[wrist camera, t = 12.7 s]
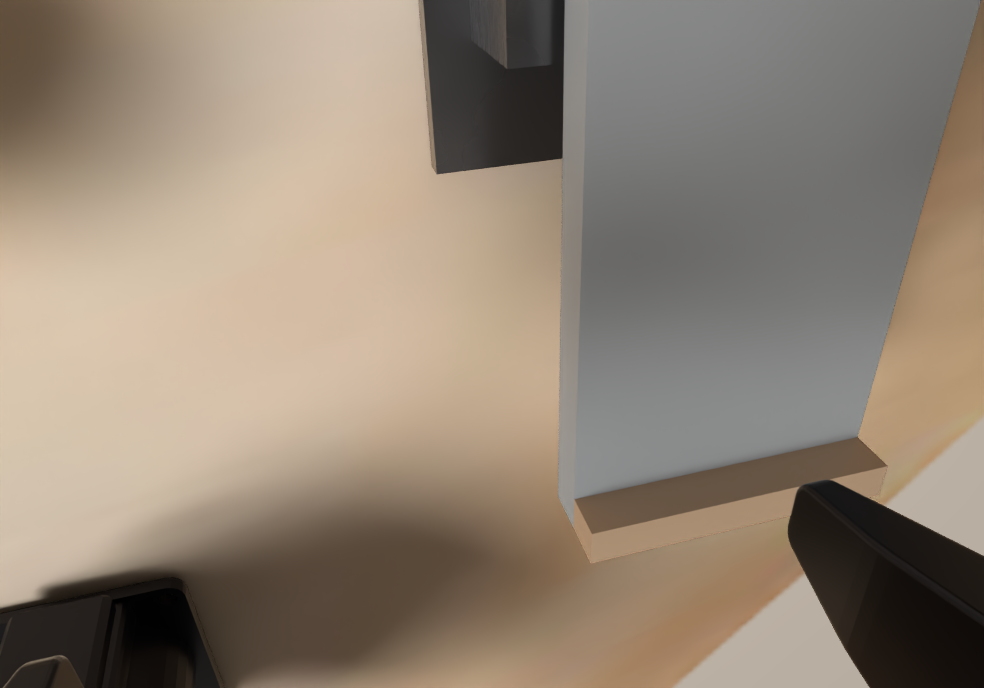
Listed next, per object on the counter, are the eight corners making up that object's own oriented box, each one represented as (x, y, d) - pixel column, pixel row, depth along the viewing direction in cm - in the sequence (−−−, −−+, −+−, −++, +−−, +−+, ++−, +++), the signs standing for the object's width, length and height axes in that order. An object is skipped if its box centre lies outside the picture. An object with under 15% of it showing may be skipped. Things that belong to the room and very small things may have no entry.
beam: (822, 438, 22) (878, 494, 20) (557, 496, 20) (590, 563, 18) (1146, -848, 10) (1360, -1018, 8) (577, -948, 9) (673, -1185, 7)
